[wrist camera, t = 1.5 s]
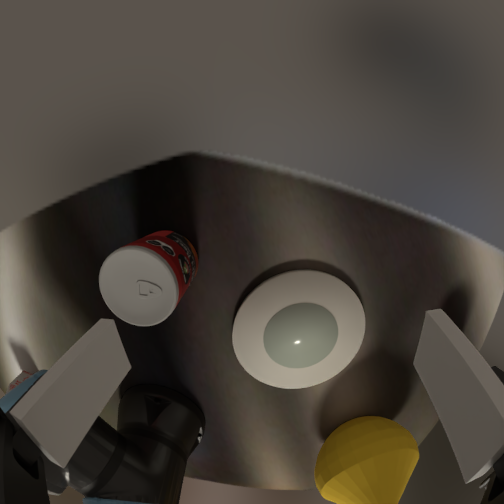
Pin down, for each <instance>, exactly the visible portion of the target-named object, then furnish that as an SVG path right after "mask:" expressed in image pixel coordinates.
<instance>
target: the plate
mask: <svg viewBox="0 0 504 504" xmlns="http://www.w3.org/2000/svg"><path fill="white" fill-rule="evenodd" d="M364 332H365V314H364V310H363V307H362V304H361V302H360V300H359V298H358V297H357V295H356V294H355V293H354V292H353V290H352V289H351V288H350V287H349V286H348V285H347V284H346V283H344V282H343V281H342V280H340V279H339V278H337V277H335V276H334V275H331V274H329V273H326V272H322V271H318V270H310V269H298V270H292V271H287V272H283V273H280V274H278V275H275V276H273V277H271V278H269V279H267V280H265V281H264V282H262V283H261V284H259V285H258V286H257V287H255V288H254V289H253V290H252V291H251V292H250V293H249V294H248V295H247V297H246V298H245V299H244V300H243V302H242V304H241V305H240V307H239V309H238V311H237V314H236V316H235V320H234V325H233V334H232V339H233V347H234V351H235V354H236V356H237V358H238V360H239V362H240V364H241V365H242V366H243V368H244V369H245V370H246V371H247V372H248V373H249V374H250V375H252V376H253V377H254V378H256V379H257V380H259V381H261V382H263V383H265V384H268V385H271V386H274V387H279V388H286V389H296V388H305V387H310V386H313V385H317V384H319V383H322V382H324V381H326V380H328V379H330V378H332V377H333V376H335V375H336V374H338V373H339V372H340V371H342V370H343V369H344V368H345V367H346V366H347V365H348V364H349V363H350V362H351V360H352V359H353V358H354V357H355V355H356V353H357V352H358V350H359V348H360V346H361V343H362V340H363V337H364Z"/></svg>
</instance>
